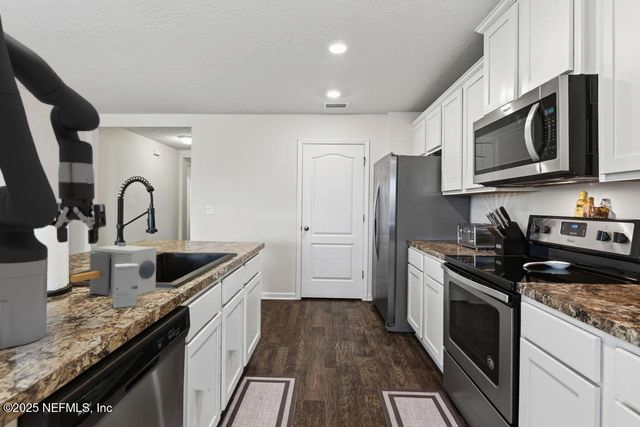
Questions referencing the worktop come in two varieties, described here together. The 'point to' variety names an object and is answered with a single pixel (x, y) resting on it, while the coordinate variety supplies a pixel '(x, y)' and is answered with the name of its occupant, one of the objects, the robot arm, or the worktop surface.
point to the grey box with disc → (132, 255)
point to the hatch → (96, 274)
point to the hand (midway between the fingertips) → (77, 242)
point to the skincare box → (125, 285)
